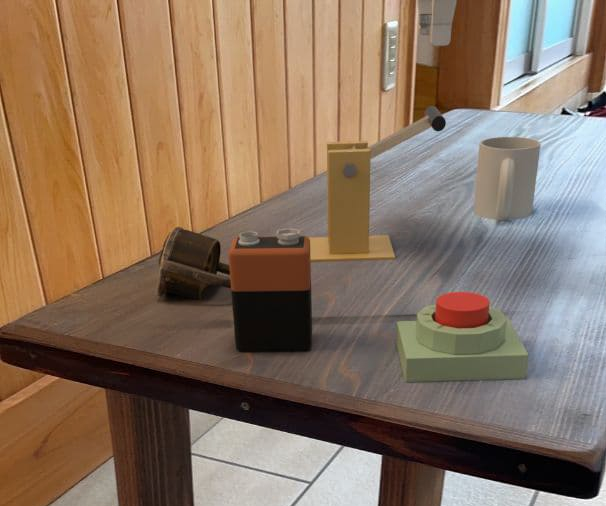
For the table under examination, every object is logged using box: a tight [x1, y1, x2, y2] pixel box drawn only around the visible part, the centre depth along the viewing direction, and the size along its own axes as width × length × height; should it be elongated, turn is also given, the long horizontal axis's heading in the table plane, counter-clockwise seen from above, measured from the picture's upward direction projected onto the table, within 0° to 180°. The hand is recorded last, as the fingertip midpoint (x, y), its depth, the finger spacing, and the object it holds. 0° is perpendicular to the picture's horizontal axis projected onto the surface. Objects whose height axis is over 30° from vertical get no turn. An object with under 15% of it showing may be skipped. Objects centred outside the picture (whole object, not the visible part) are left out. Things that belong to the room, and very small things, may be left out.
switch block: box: [395, 303, 530, 383], centre depth 73 cm, size 10×8×4 cm
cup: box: [473, 136, 542, 221], centre depth 104 cm, size 7×10×9 cm
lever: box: [349, 105, 447, 160], centre depth 90 cm, size 12×6×2 cm, turn 91°
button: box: [435, 291, 491, 329], centre depth 71 cm, size 4×4×2 cm
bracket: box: [308, 140, 396, 263], centre depth 94 cm, size 10×8×12 cm
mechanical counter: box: [154, 226, 231, 301], centre depth 85 cm, size 7×13×10 cm
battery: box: [228, 227, 313, 353], centre depth 75 cm, size 4×7×10 cm, turn 88°
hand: (433, 39), depth 85 cm, fingers open, 8 cm apart
